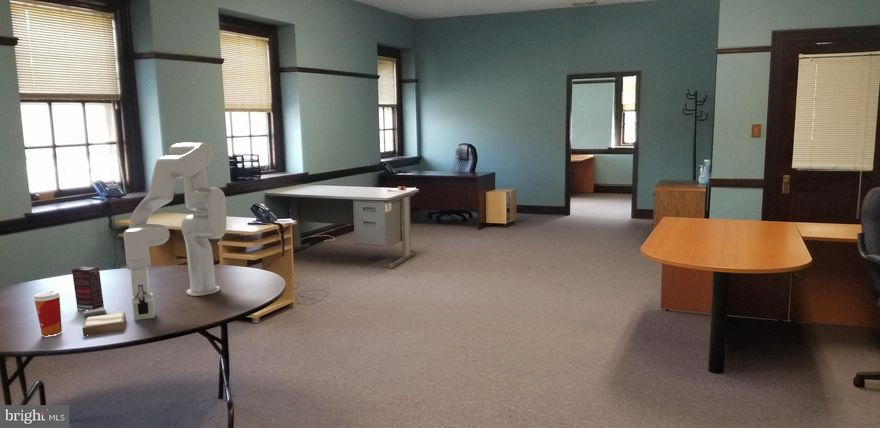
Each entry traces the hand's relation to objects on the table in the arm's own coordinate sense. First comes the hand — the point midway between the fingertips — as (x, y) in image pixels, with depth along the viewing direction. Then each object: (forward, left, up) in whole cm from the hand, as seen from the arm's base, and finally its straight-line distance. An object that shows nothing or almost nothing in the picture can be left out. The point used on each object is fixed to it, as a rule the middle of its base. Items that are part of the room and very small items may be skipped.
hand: (144, 310), depth 226 cm
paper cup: (+5, -28, -3) cm, 29 cm away
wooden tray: (+7, -12, -2) cm, 14 cm away
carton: (0, 0, -3) cm, 3 cm away
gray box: (-4, -16, -3) cm, 17 cm away
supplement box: (-21, -19, -3) cm, 28 cm away
